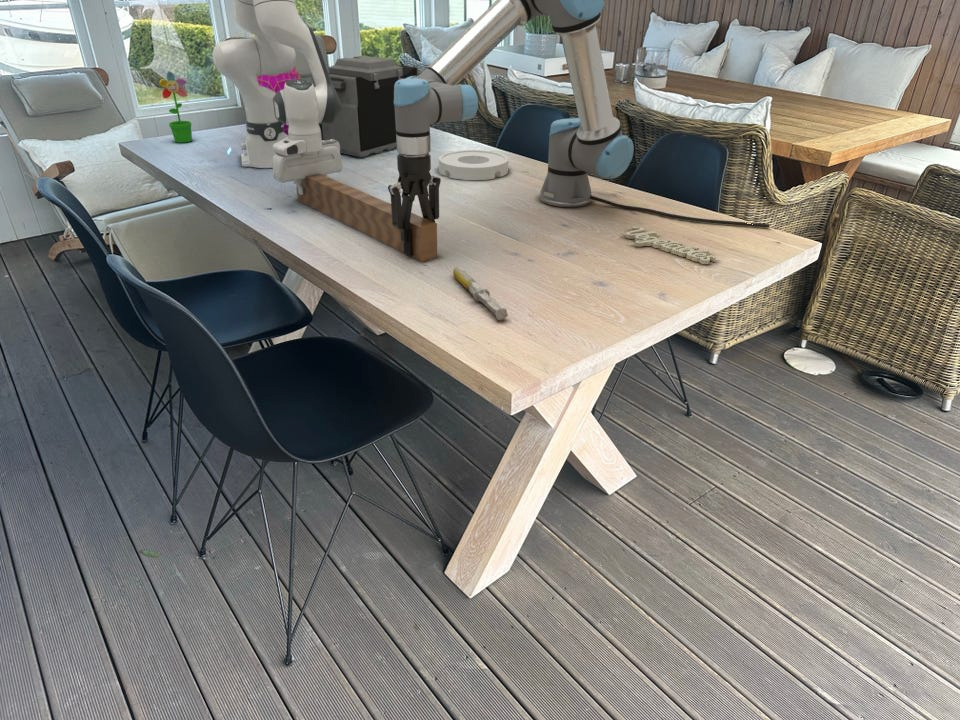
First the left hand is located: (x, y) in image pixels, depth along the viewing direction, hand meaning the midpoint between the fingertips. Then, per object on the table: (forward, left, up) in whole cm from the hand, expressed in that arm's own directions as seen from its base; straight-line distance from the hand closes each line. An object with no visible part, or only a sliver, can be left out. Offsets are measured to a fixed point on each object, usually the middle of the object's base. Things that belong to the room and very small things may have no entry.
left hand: (311, 192), depth 197 cm
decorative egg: (-80, +13, -3) cm, 81 cm away
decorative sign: (+75, +67, -3) cm, 100 cm away
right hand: (+50, +11, -2) cm, 51 cm away
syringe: (+78, +12, -3) cm, 79 cm away
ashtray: (-9, +58, -3) cm, 59 cm away
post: (+25, +5, -3) cm, 26 cm away
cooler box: (-57, +40, -3) cm, 69 cm away
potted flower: (-95, -21, -3) cm, 98 cm away
